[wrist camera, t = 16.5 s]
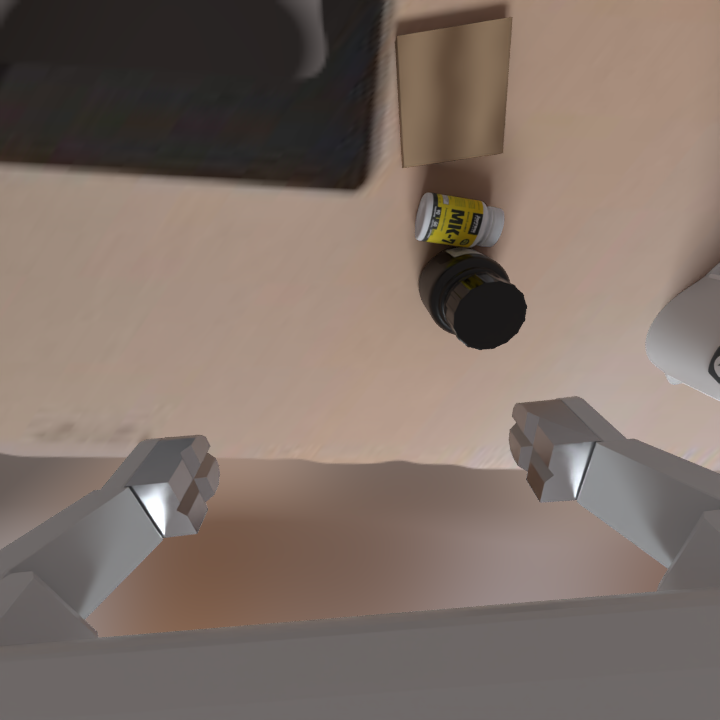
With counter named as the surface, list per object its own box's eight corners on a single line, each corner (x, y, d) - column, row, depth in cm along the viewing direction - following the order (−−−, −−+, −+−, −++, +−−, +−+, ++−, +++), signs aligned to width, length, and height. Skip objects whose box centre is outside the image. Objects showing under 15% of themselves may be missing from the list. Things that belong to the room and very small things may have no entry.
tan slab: (502, 26, 30) (512, 16, 28) (494, 154, 34) (502, 153, 33) (394, 44, 30) (397, 35, 28) (401, 168, 35) (404, 167, 33)
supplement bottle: (429, 202, 31) (512, 214, 32) (423, 185, 34) (498, 196, 35) (416, 248, 34) (491, 258, 35) (412, 229, 38) (480, 238, 38)
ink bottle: (504, 284, 41) (558, 319, 30) (449, 330, 43) (480, 377, 33) (458, 226, 37) (500, 242, 27) (401, 280, 40) (419, 315, 29)
